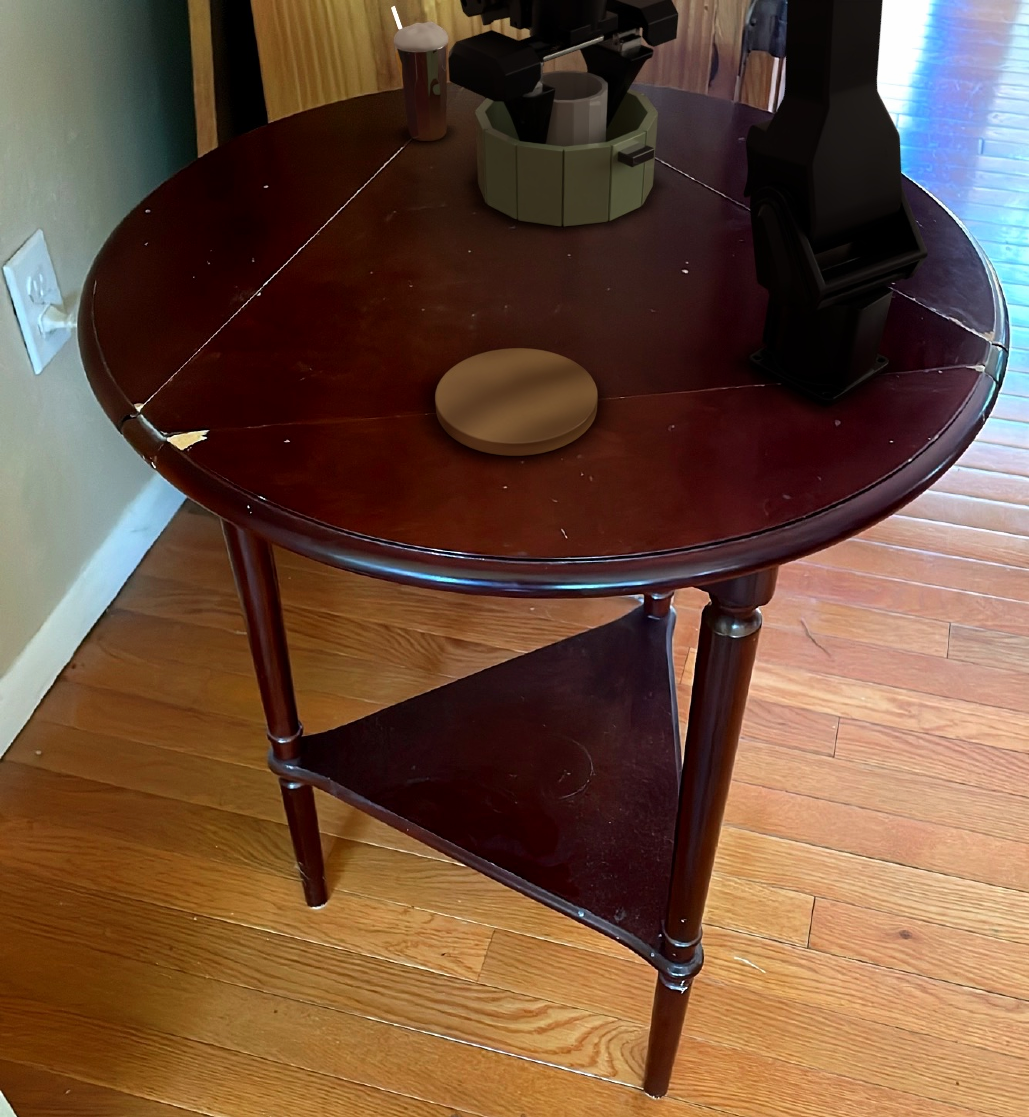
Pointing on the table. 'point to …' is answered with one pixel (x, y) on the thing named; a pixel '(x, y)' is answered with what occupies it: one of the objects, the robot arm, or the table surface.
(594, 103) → the small pot
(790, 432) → the table surface
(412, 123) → the milkshake
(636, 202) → the big pot
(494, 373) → the disc
